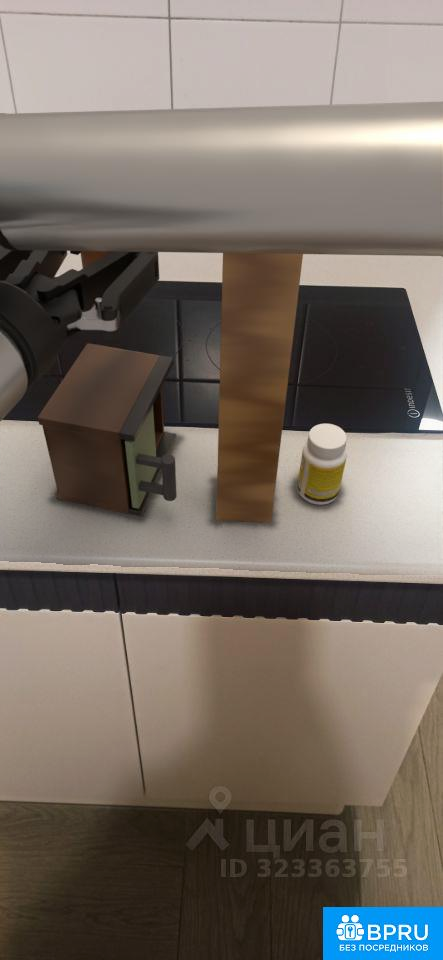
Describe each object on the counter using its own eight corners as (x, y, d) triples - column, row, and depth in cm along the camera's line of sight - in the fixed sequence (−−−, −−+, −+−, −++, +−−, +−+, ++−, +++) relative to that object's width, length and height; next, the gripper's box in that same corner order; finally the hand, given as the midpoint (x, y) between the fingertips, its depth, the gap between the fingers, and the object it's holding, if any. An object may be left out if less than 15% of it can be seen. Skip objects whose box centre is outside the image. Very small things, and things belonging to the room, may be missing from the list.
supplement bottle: (347, 496, 75) (360, 441, 69) (313, 511, 73) (323, 457, 67) (321, 469, 78) (332, 415, 72) (288, 484, 76) (296, 429, 70)
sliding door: (191, 474, 75) (189, 408, 68) (174, 516, 71) (171, 450, 64) (150, 466, 76) (145, 400, 69) (132, 507, 72) (124, 441, 65)
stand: (269, 482, 76) (303, 169, 51) (271, 522, 72) (309, 203, 47) (217, 480, 76) (225, 166, 51) (216, 520, 72) (224, 200, 47)
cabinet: (176, 438, 81) (173, 357, 72) (142, 516, 72) (134, 435, 64) (99, 423, 83) (87, 343, 74) (56, 499, 74) (37, 417, 65)
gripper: (-106, 369, 50) (54, 235, 65) (105, 429, 46) (223, 270, 61) (-143, 278, 44) (41, 155, 60) (93, 337, 40) (225, 188, 56)
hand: (133, 213), depth 60 cm, fingers closed on amber bottle, 5 cm apart
